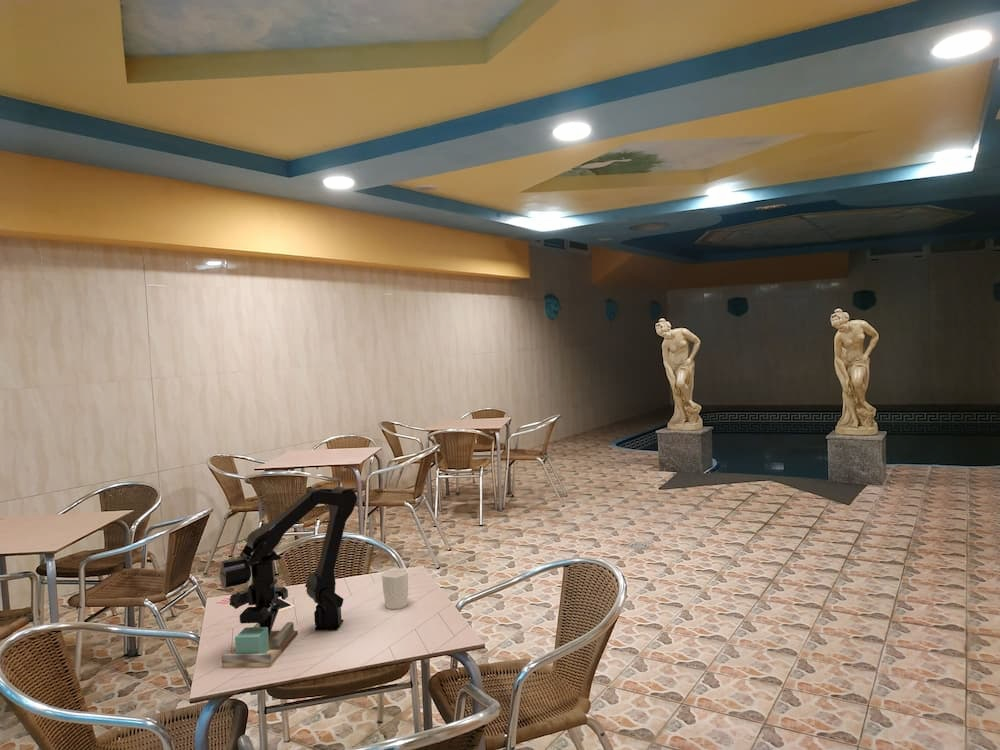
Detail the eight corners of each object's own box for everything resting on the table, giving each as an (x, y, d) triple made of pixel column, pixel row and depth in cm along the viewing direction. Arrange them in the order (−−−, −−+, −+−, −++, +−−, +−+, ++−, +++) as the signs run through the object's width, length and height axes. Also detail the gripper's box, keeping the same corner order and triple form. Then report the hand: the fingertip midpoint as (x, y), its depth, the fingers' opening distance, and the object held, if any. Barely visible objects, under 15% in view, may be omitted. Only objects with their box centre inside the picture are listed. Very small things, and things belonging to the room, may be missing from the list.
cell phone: (271, 595, 225) (271, 593, 225) (295, 608, 213) (295, 606, 213) (248, 602, 220) (248, 600, 220) (271, 615, 208) (271, 613, 208)
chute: (297, 634, 192) (297, 622, 192) (270, 666, 173) (269, 653, 173) (254, 634, 193) (253, 622, 193) (222, 667, 174) (221, 653, 174)
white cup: (415, 602, 212) (413, 570, 212) (397, 611, 205) (396, 578, 205) (395, 598, 216) (393, 567, 216) (377, 607, 210) (376, 574, 209)
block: (269, 649, 181) (267, 627, 180) (259, 660, 175) (258, 636, 174) (246, 650, 181) (245, 627, 181) (236, 660, 175) (235, 637, 175)
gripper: (247, 567, 195) (251, 622, 196) (217, 592, 177) (221, 652, 178) (286, 566, 195) (290, 621, 196) (260, 590, 176) (264, 651, 177)
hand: (267, 635), depth 186 cm, fingers closed
